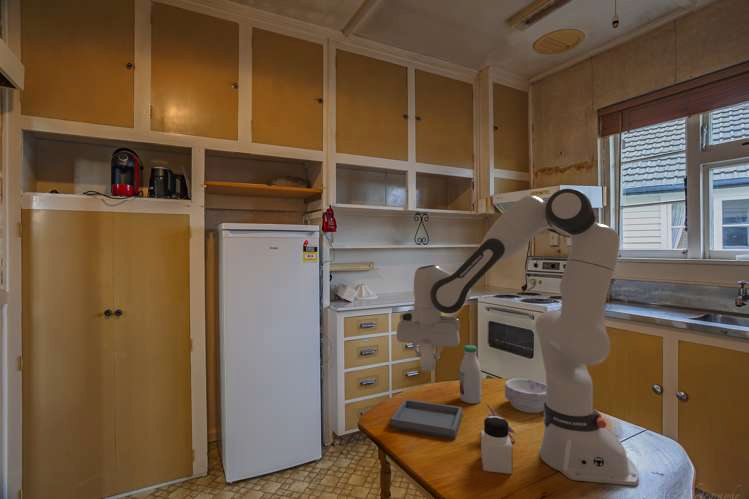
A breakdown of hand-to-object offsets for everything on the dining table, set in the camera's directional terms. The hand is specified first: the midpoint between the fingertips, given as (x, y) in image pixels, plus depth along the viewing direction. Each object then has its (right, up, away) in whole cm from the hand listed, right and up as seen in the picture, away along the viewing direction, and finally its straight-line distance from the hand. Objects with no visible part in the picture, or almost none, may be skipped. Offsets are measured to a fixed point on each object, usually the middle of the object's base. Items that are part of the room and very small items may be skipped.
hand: (427, 357), depth 122 cm
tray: (0, -21, 0) cm, 21 cm away
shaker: (0, -4, 0) cm, 4 cm away
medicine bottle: (+15, -22, -23) cm, 35 cm away
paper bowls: (+37, -21, +11) cm, 44 cm away
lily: (+20, -21, -10) cm, 31 cm away
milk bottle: (+18, -21, +17) cm, 33 cm away
